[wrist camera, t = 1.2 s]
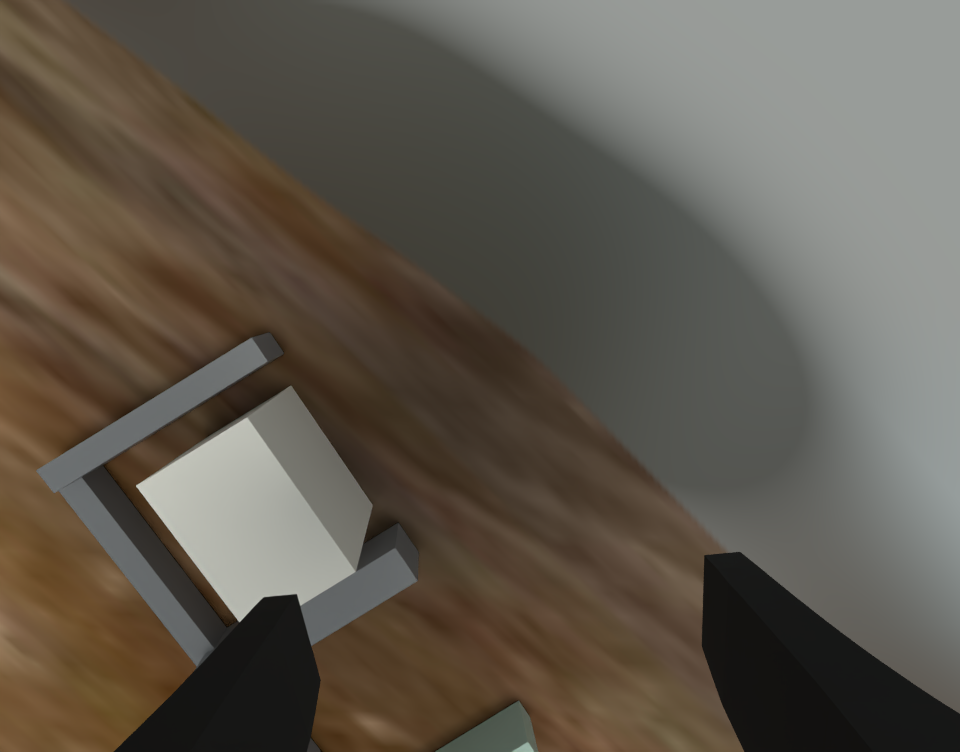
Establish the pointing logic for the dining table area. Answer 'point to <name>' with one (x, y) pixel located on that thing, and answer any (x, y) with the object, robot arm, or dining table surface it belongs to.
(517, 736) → the port cradle
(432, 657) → the dining table surface
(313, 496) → the plug block
